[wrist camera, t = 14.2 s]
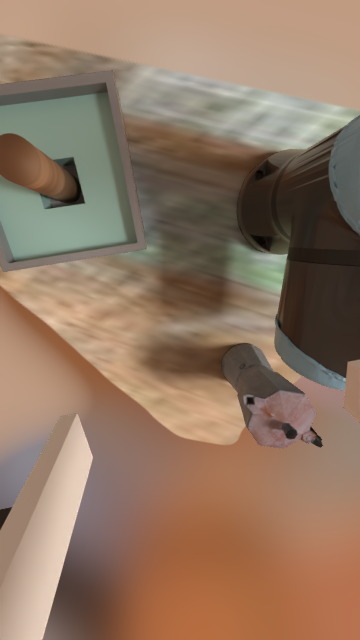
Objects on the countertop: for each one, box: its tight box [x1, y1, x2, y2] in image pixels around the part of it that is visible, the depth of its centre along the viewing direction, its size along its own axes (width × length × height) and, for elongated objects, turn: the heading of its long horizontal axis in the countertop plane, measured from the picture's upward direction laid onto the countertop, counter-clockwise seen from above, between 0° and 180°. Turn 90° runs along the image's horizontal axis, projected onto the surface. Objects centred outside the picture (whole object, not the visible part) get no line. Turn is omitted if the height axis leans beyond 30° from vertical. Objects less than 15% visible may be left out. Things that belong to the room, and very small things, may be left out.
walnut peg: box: [0, 133, 81, 203], centre depth 29 cm, size 4×4×14 cm
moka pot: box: [221, 344, 323, 448], centre depth 40 cm, size 10×15×20 cm, turn 59°
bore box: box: [0, 70, 147, 272], centre depth 34 cm, size 20×20×6 cm
